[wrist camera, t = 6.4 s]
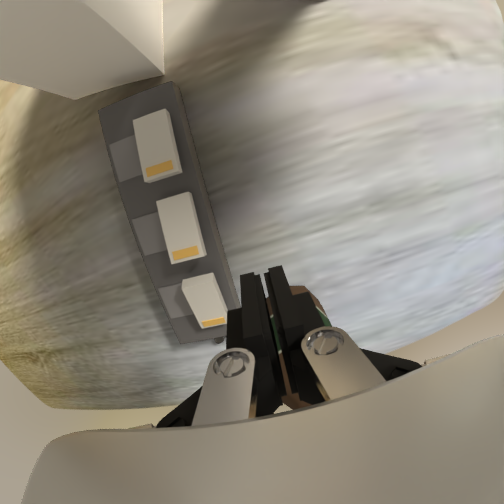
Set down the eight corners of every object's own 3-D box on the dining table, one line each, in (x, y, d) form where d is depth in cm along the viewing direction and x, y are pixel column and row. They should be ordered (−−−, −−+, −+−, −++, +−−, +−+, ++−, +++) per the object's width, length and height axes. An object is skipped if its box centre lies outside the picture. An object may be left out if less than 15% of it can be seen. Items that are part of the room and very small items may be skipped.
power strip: (113, 113, 26) (97, 110, 22) (179, 88, 26) (171, 80, 22) (192, 342, 38) (189, 362, 34) (248, 330, 37) (250, 351, 33)
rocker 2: (182, 279, 28) (181, 289, 27) (213, 272, 28) (213, 282, 27) (202, 319, 31) (201, 329, 30) (229, 313, 31) (230, 323, 30)
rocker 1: (138, 124, 23) (132, 120, 22) (169, 112, 23) (164, 107, 22) (149, 183, 24) (143, 181, 23) (182, 172, 24) (178, 170, 23)
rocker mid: (160, 202, 26) (155, 201, 25) (191, 193, 26) (187, 191, 25) (175, 262, 27) (171, 264, 25) (206, 254, 27) (204, 256, 25)
